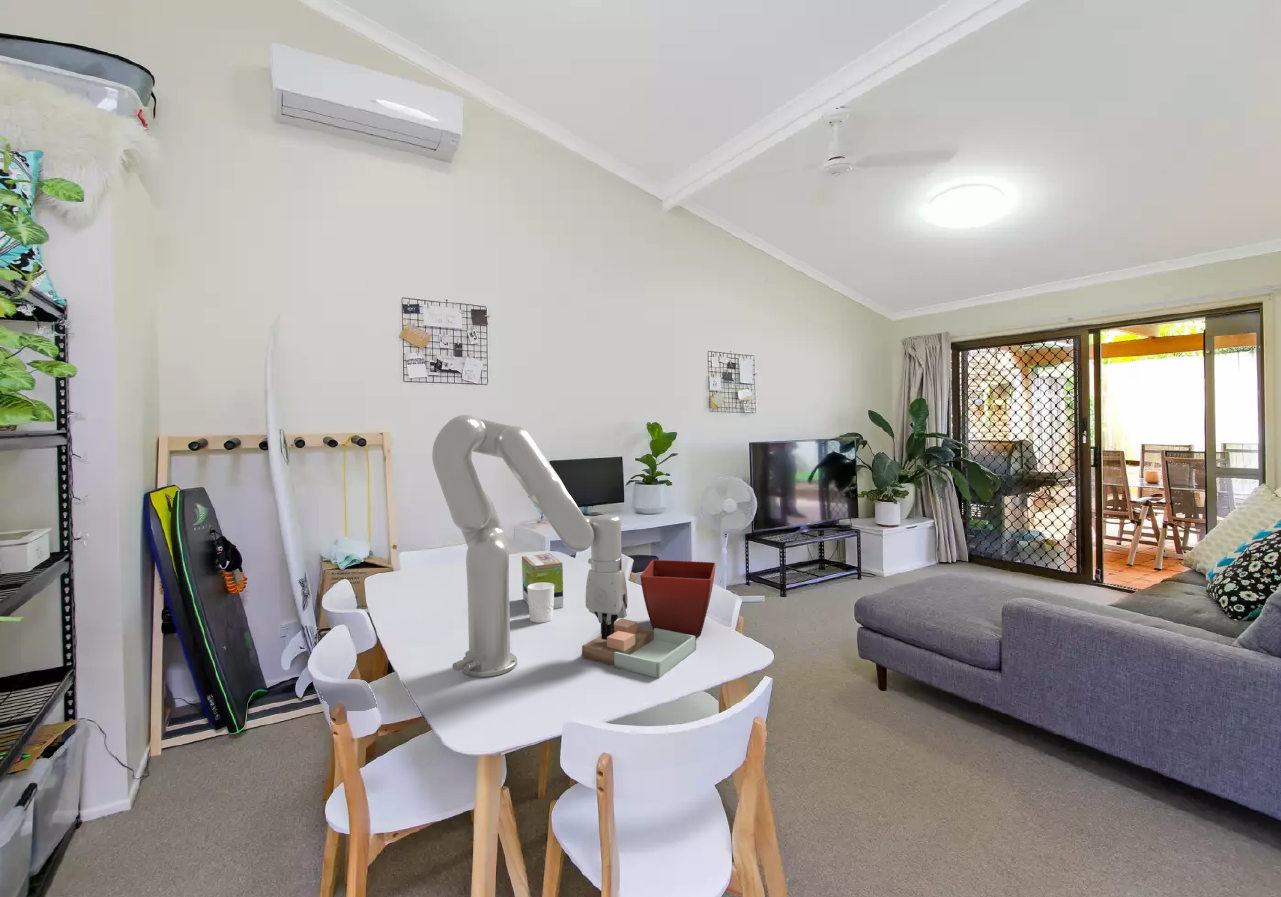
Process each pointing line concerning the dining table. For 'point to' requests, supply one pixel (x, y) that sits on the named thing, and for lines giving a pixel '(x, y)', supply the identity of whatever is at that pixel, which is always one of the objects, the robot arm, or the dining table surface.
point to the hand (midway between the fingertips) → (607, 638)
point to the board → (604, 654)
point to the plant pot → (678, 594)
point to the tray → (658, 653)
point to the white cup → (541, 601)
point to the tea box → (543, 575)
